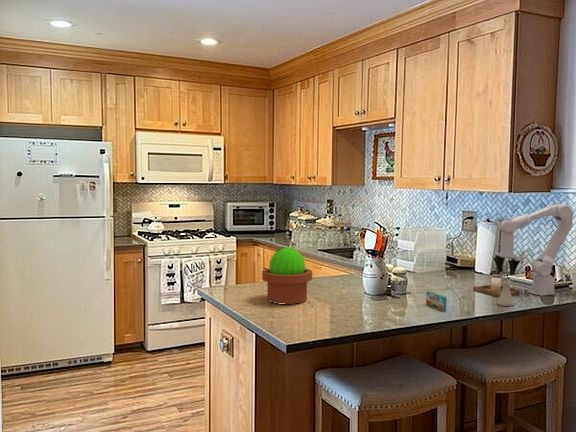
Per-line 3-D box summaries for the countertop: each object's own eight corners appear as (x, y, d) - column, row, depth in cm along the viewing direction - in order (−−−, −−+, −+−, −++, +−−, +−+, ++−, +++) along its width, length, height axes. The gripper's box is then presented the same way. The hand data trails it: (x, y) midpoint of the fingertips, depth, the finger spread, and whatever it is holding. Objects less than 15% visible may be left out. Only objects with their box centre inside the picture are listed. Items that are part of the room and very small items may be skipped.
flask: (516, 307, 222) (517, 284, 221) (498, 306, 223) (499, 283, 222) (512, 303, 229) (513, 280, 228) (495, 302, 230) (495, 280, 229)
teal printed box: (426, 304, 226) (426, 291, 225) (428, 304, 226) (429, 290, 226) (443, 311, 214) (443, 297, 214) (446, 311, 215) (446, 296, 214)
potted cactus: (321, 300, 234) (321, 245, 232) (288, 309, 217) (289, 250, 216) (285, 292, 248) (285, 241, 246) (252, 301, 232) (252, 246, 230)
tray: (496, 288, 259) (496, 284, 259) (519, 294, 246) (519, 290, 246) (473, 290, 254) (473, 286, 253) (495, 297, 240) (495, 292, 240)
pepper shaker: (495, 289, 252) (496, 273, 252) (502, 291, 248) (503, 275, 248) (488, 290, 251) (489, 274, 250) (495, 292, 247) (496, 275, 246)
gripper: (489, 244, 253) (488, 271, 254) (512, 247, 239) (511, 276, 240) (500, 243, 255) (499, 270, 256) (523, 247, 242) (522, 275, 243)
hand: (506, 273), depth 249 cm, fingers open, 7 cm apart
